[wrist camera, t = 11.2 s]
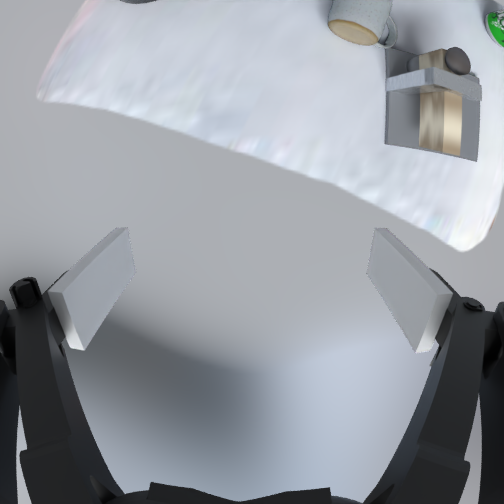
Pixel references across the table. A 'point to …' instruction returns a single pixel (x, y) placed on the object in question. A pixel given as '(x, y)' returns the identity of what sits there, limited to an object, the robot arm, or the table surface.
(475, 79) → the board
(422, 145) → the lever link
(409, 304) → the robot arm
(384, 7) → the ceramic mug
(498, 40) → the soda can
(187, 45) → the table surface
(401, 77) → the block
